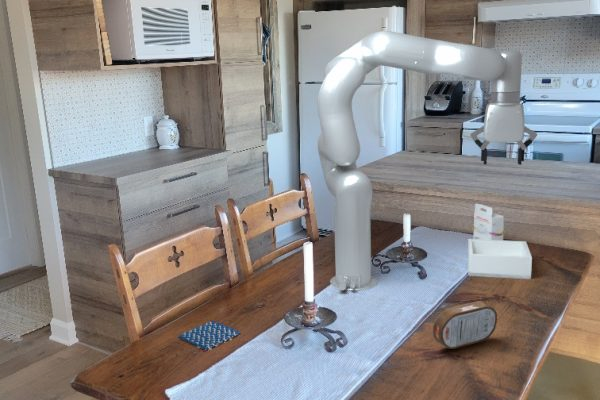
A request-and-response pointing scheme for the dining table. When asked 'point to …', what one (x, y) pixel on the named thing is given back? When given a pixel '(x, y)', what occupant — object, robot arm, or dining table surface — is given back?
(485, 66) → the robot arm
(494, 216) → the ink cartridge box
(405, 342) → the dining table surface
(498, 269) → the walled box
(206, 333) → the woven mat
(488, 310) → the tin
